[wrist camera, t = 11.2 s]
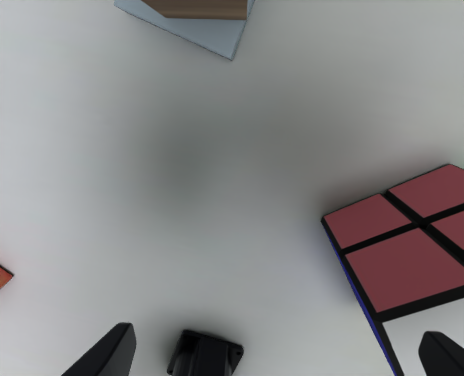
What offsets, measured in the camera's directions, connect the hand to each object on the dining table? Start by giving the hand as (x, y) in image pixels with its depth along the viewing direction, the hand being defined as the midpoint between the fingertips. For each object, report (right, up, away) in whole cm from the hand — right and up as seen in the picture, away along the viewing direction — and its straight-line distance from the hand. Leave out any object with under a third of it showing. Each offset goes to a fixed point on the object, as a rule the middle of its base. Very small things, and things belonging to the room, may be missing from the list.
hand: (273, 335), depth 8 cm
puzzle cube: (+12, 0, +14) cm, 18 cm away
